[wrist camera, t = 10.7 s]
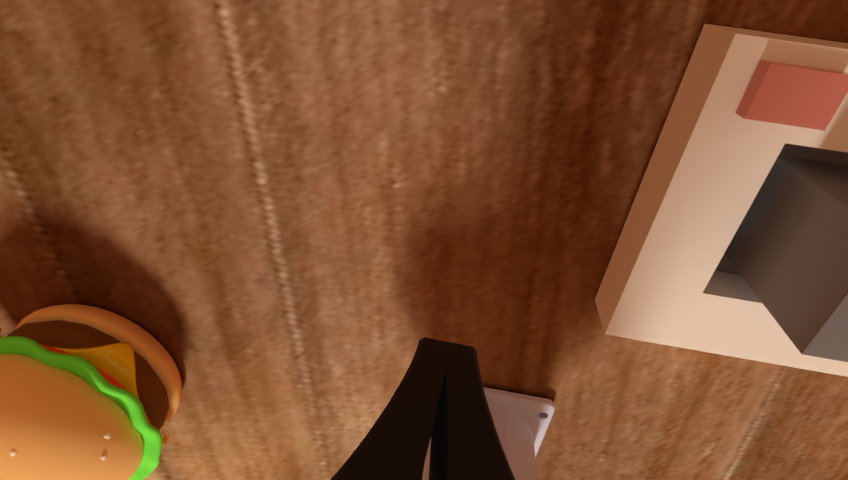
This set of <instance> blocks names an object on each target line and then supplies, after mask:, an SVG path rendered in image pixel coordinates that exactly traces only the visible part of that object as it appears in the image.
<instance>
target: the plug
mask: <svg viewBox="0 0 848 480" xmlns="http://www.w3.org/2000/svg"><path fill="white" fill-rule="evenodd" d="M724 254H725V255H726V256H727V258H728V259H729V260H730V261H731V263H732V264H733V265H734V267H735V268H736V269H737V271H738V272H739V273H740V275H741V276H742V277H743V278H744V280H745V281H746V282H747V284H748V285H749V286H750V288H751V289H752V290H753V291H754V293H755V294H756V295H757V297H758V298H759V299H760V301H761V302H762V303H763V305H764V306H765V307H766V308H767V310H768V311H769V312H770V314H771V315H772V316H773V318H774V319H775V320H776V322H777V323H778V324H779V325H780V327H781V328H782V329H783V331H784V332H785V333H786V335H787V336H788V337H789V339H790V340H791V341H792V342H793V344H794V345H795V346H796V348H797V349H798V350H799V352H800V353H801V354H803V355H809V356H815V357H820V358H826V359H832V360H838V361H843V362H848V165H842V164H836V163H829V162H823V161H816V160H809V159H803V158H796V157H790V156H783V155H778V157H777V159H776V161H775V163H774V165H773V166H772V168H771V170H770V172H769V174H768V175H767V177H766V179H765V181H764V183H763V184H762V186H761V188H760V190H759V192H758V193H757V195H756V197H755V199H754V201H753V202H752V204H751V206H750V208H749V210H748V212H747V213H746V215H745V217H744V219H743V221H742V222H741V224H740V226H739V228H738V230H737V231H736V233H735V235H734V237H733V239H732V240H731V242H730V244H729V246H728V248H727V249H726V251H725V253H724Z"/></svg>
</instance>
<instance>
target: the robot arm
mask: <svg viewBox="0 0 848 480" xmlns="http://www.w3.org/2000/svg"><path fill="white" fill-rule="evenodd" d="M554 411H555V407H554V403H553V401H551V400H549V399H546V398H540V397H535V396H530V395H524V394H519V393H513V392H508V391H502V390H497V389H491V388H486V387H483V384H482V380H481V376H480V371H479V366H478V360H477V351H476V350H475V349H474V347H471V346H466V345H460V344H455V343H450V342H445V341H439V340H434V339H429V338H423V339H421V340H420V341H419V344H418V348H417V350H416V353H415V355H414V358H413V360H412V362H411V364H410V366H409V368H408V370H407V372H406V374H405V376H404V378H403V380H402V381H401V383H400V385H399V387H398V388H397V390H396V392H395V393H394V395H393V397H392V398H391V400H390V402H389V403H388V405H387V406H386V408H385V409H384V411H383V412H382V414H381V415H380V417H379V418H378V420H377V421H376V422H375V424H374V425H373V427H372V428H371V430H370V431H369V433H368V434H367V435H366V437H365V438H364V439H363V441H362V442H361V443H360V445H359V446H358V447H357V448H356V450H355V451H354V452H353V454H352V455H351V456H350V457H349V459H348V460H347V461H346V462H345V463H344V465H343V466H342V467H341V468H340V470H339V471H338V472H337V473H336V474H335V475H334V476H333V478H332V479H331V480H537V473H536V460H535V458H536V455H537V453H538V450H539V448H540V445H541V443H542V440H543V438H544V436H545V433H546V431H547V428H548V426H549V423H550V421H551V418H552V416H553V413H554Z"/></svg>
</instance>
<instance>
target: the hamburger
mask: <svg viewBox="0 0 848 480" xmlns="http://www.w3.org/2000/svg"><path fill="white" fill-rule="evenodd" d="M0 332H1V328H0ZM181 390H182V382H181V378H180V373H179V371H178V369H177V366H176V364H175V362H174V360H173V359H172V357H171V356H170V354H169V353H168V352H167V351H166V349H165V348H164V347H163V346H162V345H161V344H160V343H159V342H158V341H157V340H156V339H155V338H154V337H153V336H152V335H151V334H150V333H148V332H147V331H145V330H144V329H143V328H141V327H140V326H138V325H137V324H135V323H133V322H132V321H130V320H128V319H126V318H124V317H122V316H120V315H117V314H115V313H113V312H110V311H107V310H104V309H101V308H98V307H93V306H88V305H79V304H64V305H55V306H50V307H46V308H43V309H40V310H37V311H35V312H33V313H31V314H30V315H28V316H27V317H25V318H23V319H22V321H21V322H20V323H19V324H18V326H17V327H16V329H15V331H13V332H12V333H11V334H9V335H8V336H7V337H1V336H0V480H144V479H145V478H146V477H147V476H148V475H149V474H150V473H151V472H152V471H153V470H154V469H155V468H156V467H157V466H158V464H159V457H160V453H161V448H162V446H164V445H165V444H166V443H167V441H168V434H165V433H164V434H162V435H161V433H160V431H159V429H160V428H161V427H162V426H163V425H164V423H165V422H166V421H168V420H169V419H170V418H171V417H172V416H173V415H174V413H175V412H176V411H177V409H178V406H179V403H180V400H181Z"/></svg>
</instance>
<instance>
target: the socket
mask: <svg viewBox="0 0 848 480" xmlns="http://www.w3.org/2000/svg"><path fill="white" fill-rule="evenodd" d="M778 155H783V156H790V157H796V158H803V159H809V160H816V161H823V162H829V163H836V164H842V165H848V43H843V42H835V41H828V40H821V39H814V38H806V37H799V36H792V35H784V34H777V33H770V32H763V31H755V30H748V29H741V28H733V27H726V26H719V25H712V24H704V26H703V28H702V31H701V33H700V36H699V38H698V41H697V43H696V46H695V48H694V51H693V53H692V56H691V58H690V61H689V63H688V66H687V69H686V71H685V74H684V76H683V79H682V81H681V84H680V86H679V89H678V91H677V94H676V96H675V99H674V101H673V104H672V106H671V109H670V111H669V114H668V116H667V119H666V121H665V124H664V126H663V129H662V131H661V134H660V136H659V139H658V141H657V144H656V146H655V149H654V151H653V154H652V156H651V159H650V161H649V164H648V166H647V169H646V172H645V174H644V177H643V179H642V182H641V184H640V187H639V189H638V192H637V194H636V197H635V199H634V202H633V204H632V207H631V209H630V212H629V214H628V217H627V219H626V222H625V224H624V227H623V229H622V232H621V234H620V237H619V239H618V242H617V244H616V247H615V249H614V252H613V254H612V257H611V259H610V262H609V264H608V267H607V269H606V272H605V275H604V277H603V280H602V282H601V285H600V287H599V290H598V292H597V295H596V297H595V302H596V306H597V309H598V313H599V316H600V320H601V323H602V327H603V330H604V334H606V335H612V336H618V337H623V338H629V339H635V340H641V341H646V342H652V343H658V344H663V345H669V346H675V347H681V348H686V349H692V350H698V351H703V352H709V353H715V354H721V355H726V356H732V357H738V358H744V359H749V360H755V361H761V362H766V363H772V364H778V365H784V366H789V367H795V368H801V369H806V370H812V371H818V372H824V373H829V374H835V375H841V376H847V377H848V362H843V361H838V360H832V359H826V358H820V357H815V356H809V355H803V354H801V353H800V352H799V350H798V349H797V348H796V346H795V345H794V344H793V342H792V341H791V340H790V339H789V337H788V336H787V335H786V333H785V332H784V331H783V329H782V328H781V327H780V325H779V324H778V323H777V322H776V320H775V319H774V318H773V316H772V315H771V314H770V312H769V311H768V310H767V308H766V307H765V306H764V305H763V303H762V302H761V301H760V299H759V298H758V297H757V295H756V294H755V293H754V291H753V290H752V289H751V288H750V286H749V285H748V284H747V282H746V281H745V280H744V278H743V277H742V276H741V275H740V273H739V272H738V271H737V269H736V268H735V267H734V265H733V264H732V263H731V261H730V260H729V259H728V258H727V256H726V255H725V254H724V253H725V251H726V249H727V248H728V246H729V244H730V242H731V240H732V239H733V237H734V235H735V233H736V231H737V230H738V228H739V226H740V224H741V222H742V221H743V219H744V217H745V215H746V213H747V212H748V210H749V208H750V206H751V204H752V202H753V201H754V199H755V197H756V195H757V193H758V192H759V190H760V188H761V186H762V184H763V183H764V181H765V179H766V177H767V175H768V174H769V172H770V170H771V168H772V166H773V165H774V163H775V161H776V159H777V157H778Z"/></svg>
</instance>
